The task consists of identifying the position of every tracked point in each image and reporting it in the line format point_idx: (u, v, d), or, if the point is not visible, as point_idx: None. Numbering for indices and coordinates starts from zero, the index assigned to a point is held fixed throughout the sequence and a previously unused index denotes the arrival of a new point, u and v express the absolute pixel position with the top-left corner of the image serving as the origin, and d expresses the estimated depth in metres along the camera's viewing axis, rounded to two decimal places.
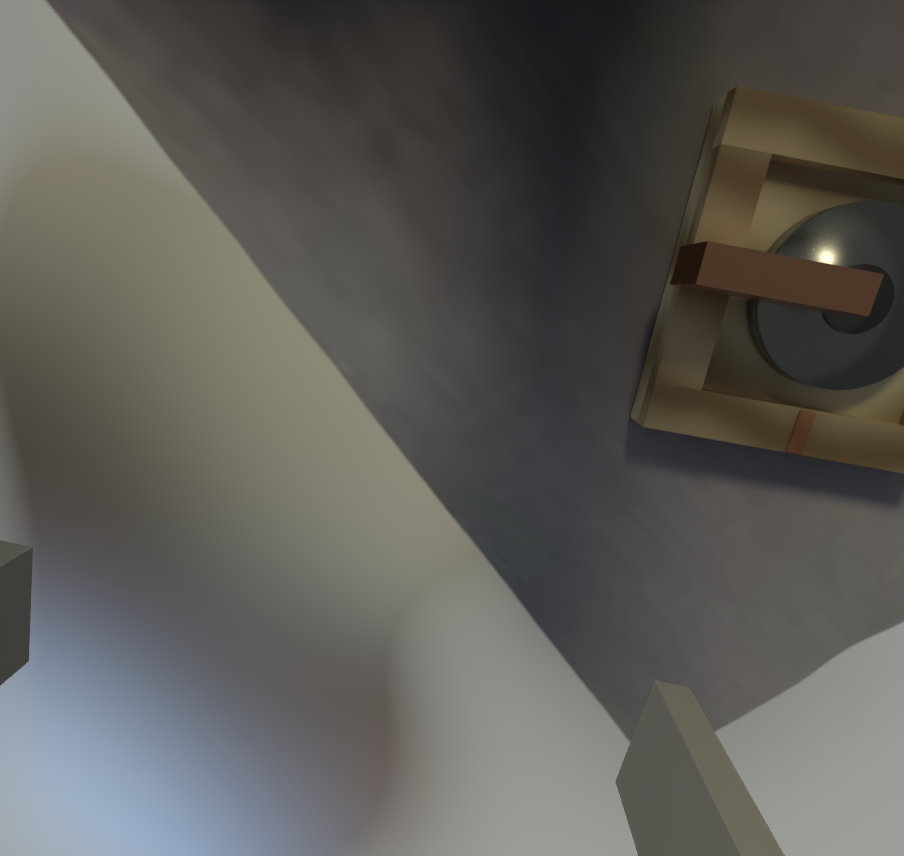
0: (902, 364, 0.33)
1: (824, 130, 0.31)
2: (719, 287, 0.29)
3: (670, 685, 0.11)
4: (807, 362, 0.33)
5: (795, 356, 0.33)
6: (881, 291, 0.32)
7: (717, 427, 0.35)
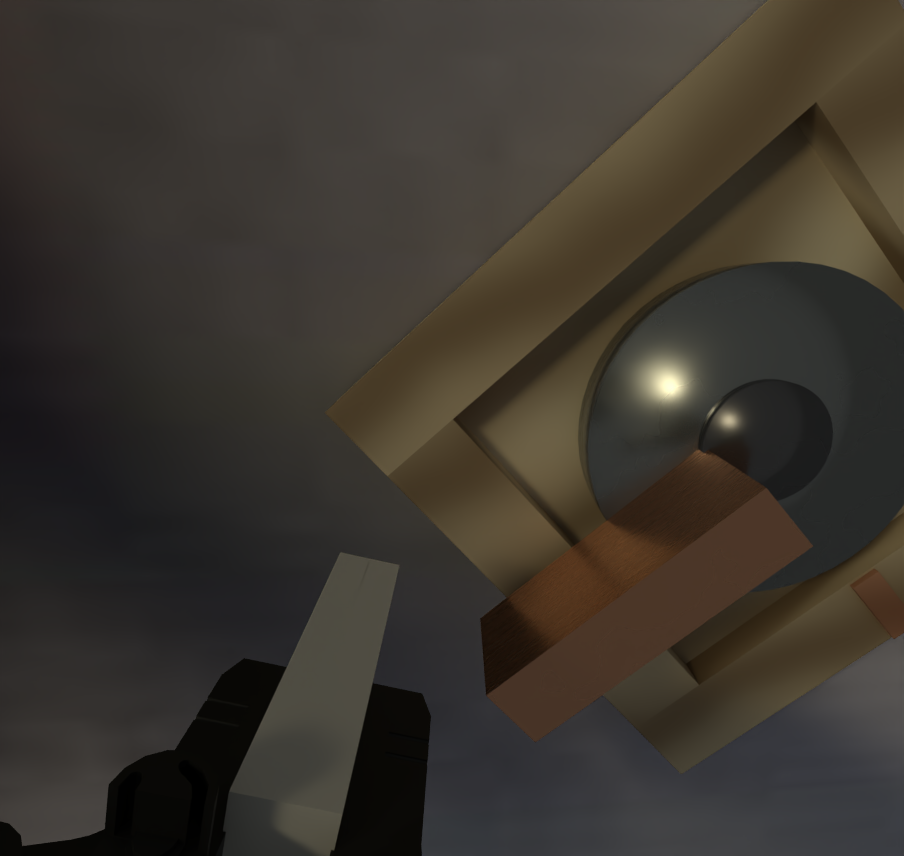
0: None
1: (476, 330, 0.17)
2: (568, 717, 0.16)
3: (382, 562, 0.13)
4: None
5: None
6: (786, 406, 0.17)
7: (769, 695, 0.21)
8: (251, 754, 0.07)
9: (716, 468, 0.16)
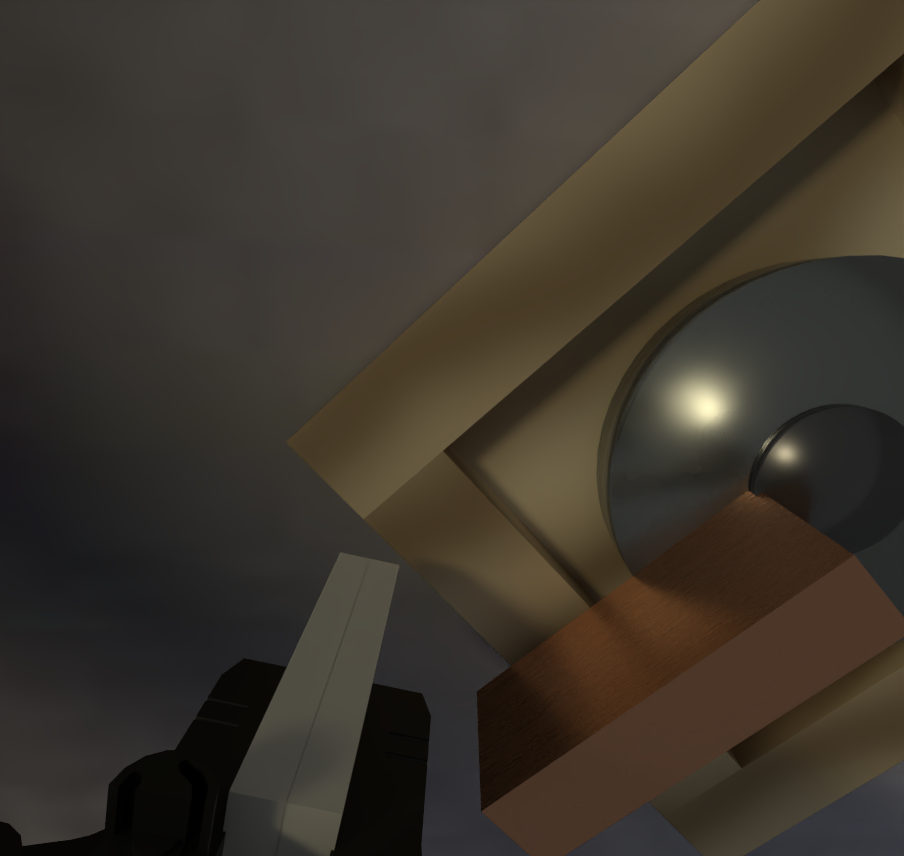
0: None
1: (471, 342, 0.14)
2: (586, 839, 0.12)
3: (381, 562, 0.13)
4: None
5: None
6: (863, 439, 0.13)
7: (827, 781, 0.17)
8: (251, 754, 0.07)
9: (777, 520, 0.12)
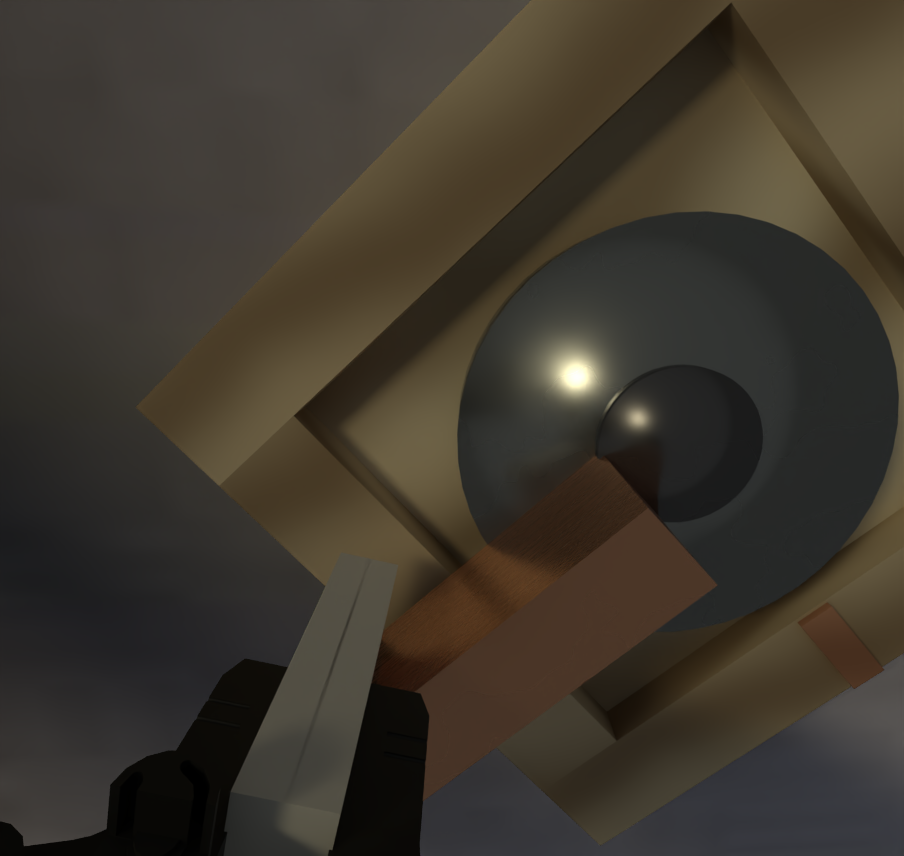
0: (889, 422, 0.13)
1: (313, 303, 0.14)
2: None
3: (380, 562, 0.13)
4: (722, 584, 0.15)
5: None
6: (701, 399, 0.13)
7: (703, 753, 0.17)
8: (252, 754, 0.07)
9: (605, 480, 0.12)
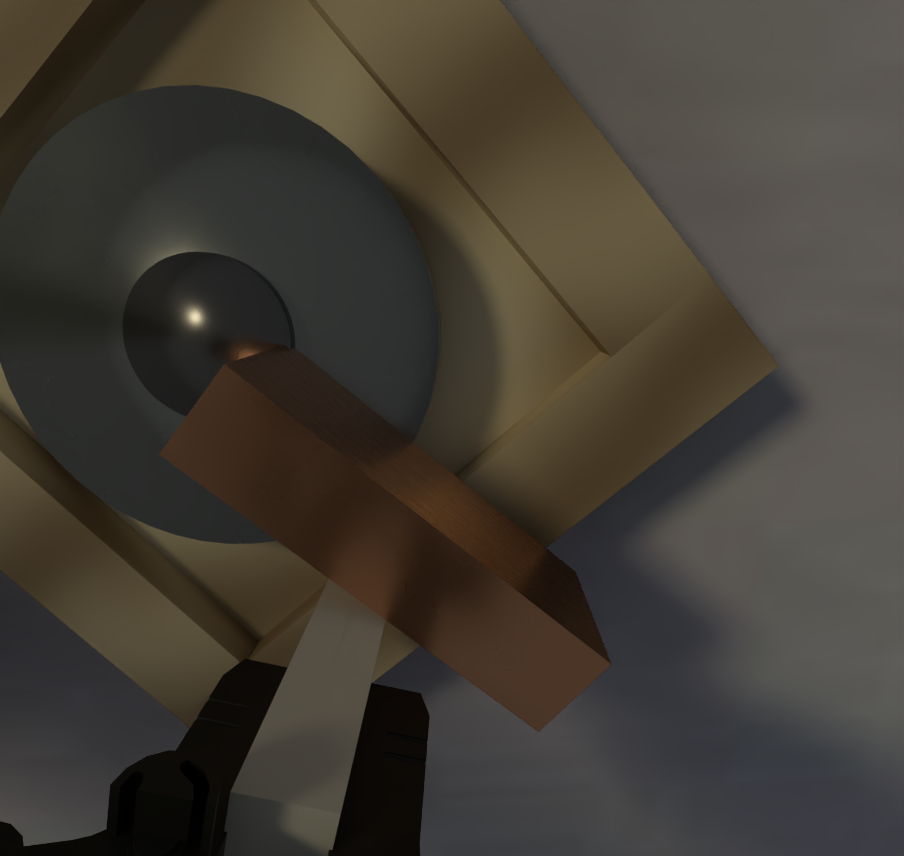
0: (134, 102, 0.12)
1: None
2: (563, 630, 0.11)
3: None
4: (362, 242, 0.13)
5: (385, 274, 0.13)
6: (153, 330, 0.13)
7: None
8: (252, 754, 0.07)
9: None
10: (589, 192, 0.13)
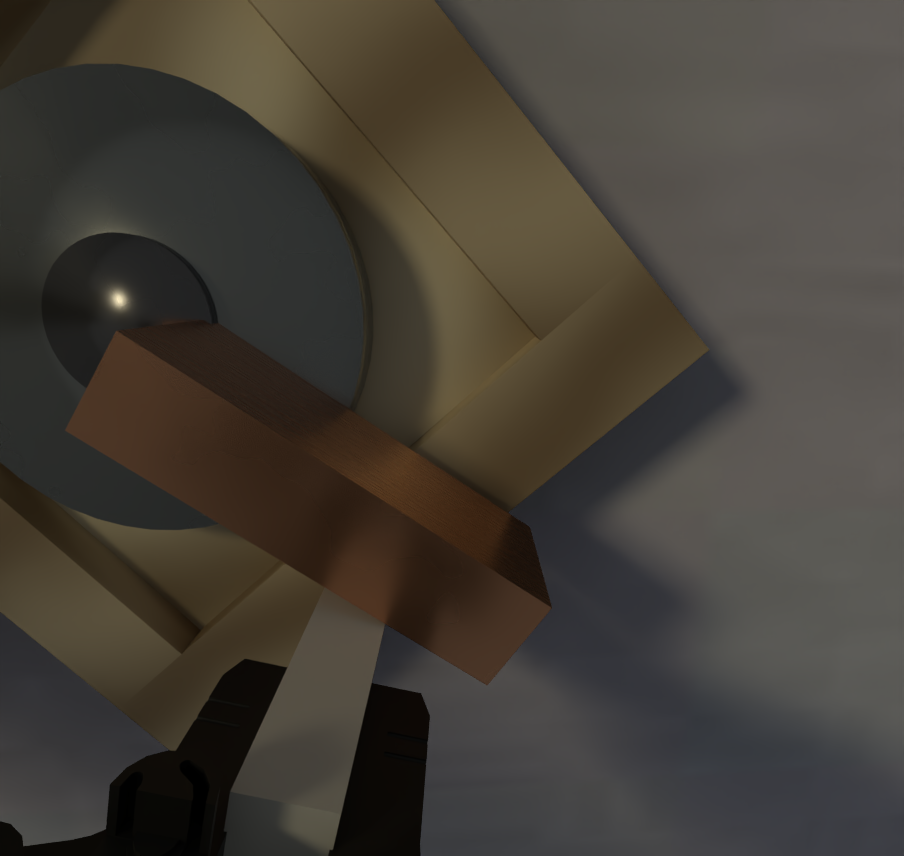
0: (27, 88, 0.12)
1: None
2: (497, 576, 0.10)
3: None
4: (271, 207, 0.12)
5: (298, 238, 0.13)
6: (72, 317, 0.13)
7: None
8: (252, 754, 0.07)
9: None
10: (513, 173, 0.13)
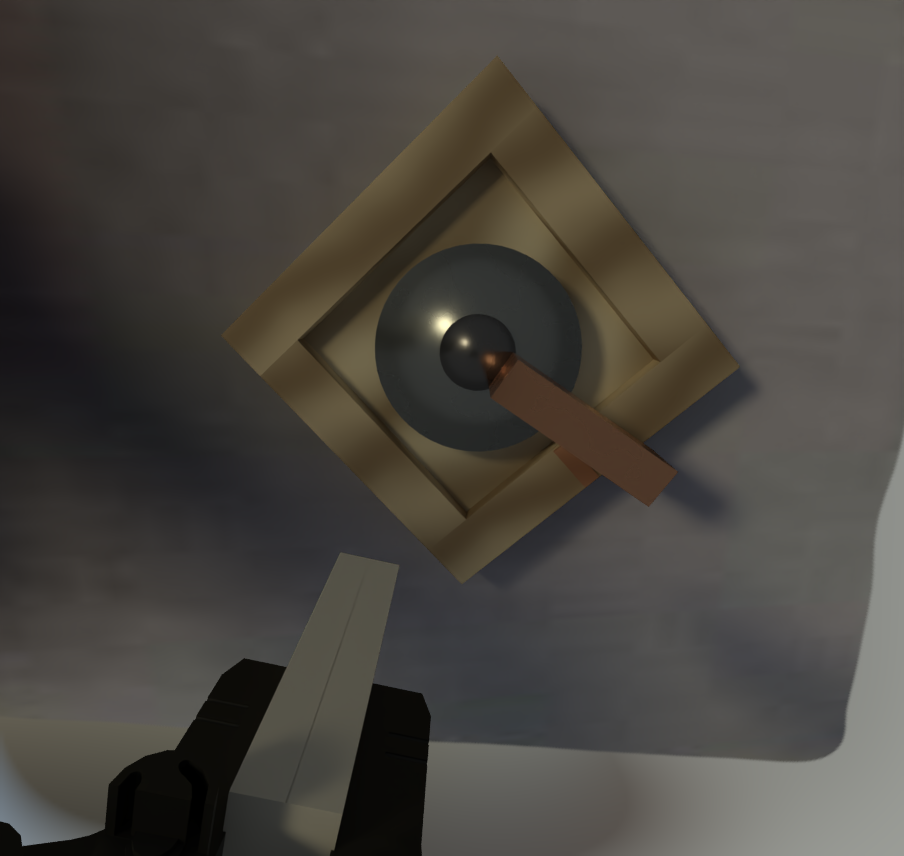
0: (445, 253, 0.28)
1: (307, 285, 0.29)
2: (656, 458, 0.26)
3: (382, 562, 0.13)
4: (546, 303, 0.28)
5: (556, 316, 0.28)
6: (453, 351, 0.28)
7: (512, 527, 0.32)
8: (251, 754, 0.07)
9: None
10: (652, 287, 0.28)
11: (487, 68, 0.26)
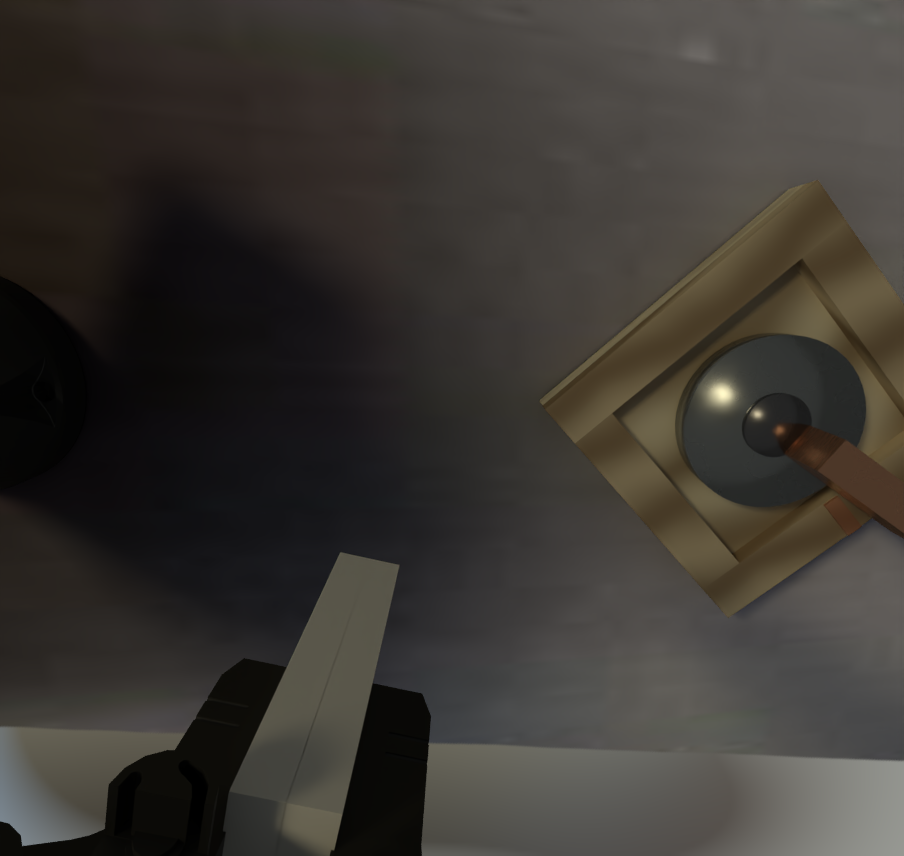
0: (758, 342, 0.32)
1: (627, 367, 0.33)
2: None
3: (382, 562, 0.13)
4: (839, 383, 0.33)
5: (847, 394, 0.33)
6: (757, 424, 0.33)
7: (779, 569, 0.37)
8: (251, 754, 0.07)
9: (799, 462, 0.32)
10: None
11: (808, 190, 0.31)
